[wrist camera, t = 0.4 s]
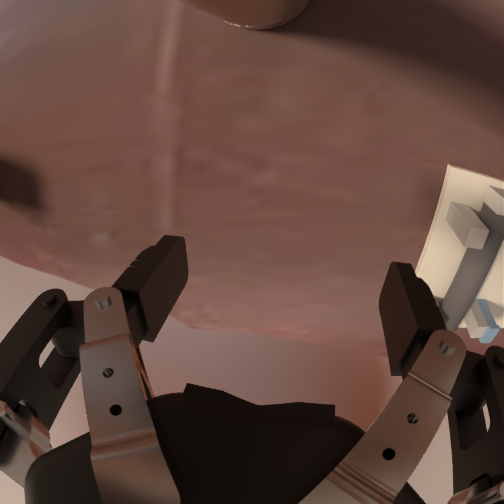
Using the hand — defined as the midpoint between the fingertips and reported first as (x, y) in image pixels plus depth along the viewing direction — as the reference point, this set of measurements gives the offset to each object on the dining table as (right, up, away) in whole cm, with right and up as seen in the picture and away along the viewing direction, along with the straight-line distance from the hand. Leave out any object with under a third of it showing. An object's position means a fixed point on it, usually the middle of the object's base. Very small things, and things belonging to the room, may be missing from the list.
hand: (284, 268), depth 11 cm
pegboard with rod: (+28, -1, +16) cm, 32 cm away
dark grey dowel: (+23, -1, +16) cm, 28 cm away
